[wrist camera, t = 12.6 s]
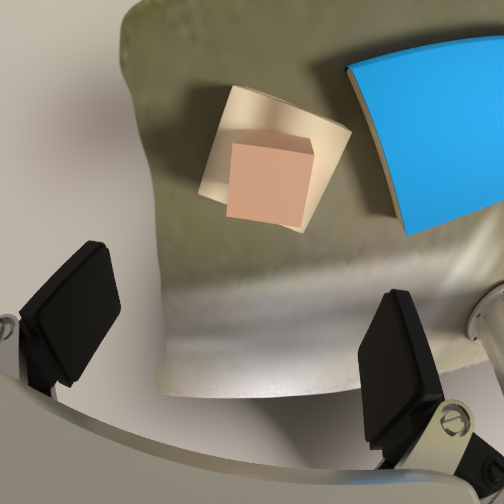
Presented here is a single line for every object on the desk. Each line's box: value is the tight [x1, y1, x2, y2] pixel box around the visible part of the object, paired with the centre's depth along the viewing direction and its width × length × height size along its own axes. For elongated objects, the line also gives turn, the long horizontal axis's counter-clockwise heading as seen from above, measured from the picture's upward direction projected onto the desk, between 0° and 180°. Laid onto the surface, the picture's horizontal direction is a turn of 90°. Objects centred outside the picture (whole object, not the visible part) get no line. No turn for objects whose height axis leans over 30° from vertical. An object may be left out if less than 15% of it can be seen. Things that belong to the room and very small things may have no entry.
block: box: [227, 129, 315, 228], centre depth 21 cm, size 5×5×6 cm
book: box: [345, 35, 504, 236], centre depth 20 cm, size 17×4×25 cm
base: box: [198, 85, 352, 234], centre depth 26 cm, size 10×10×5 cm
